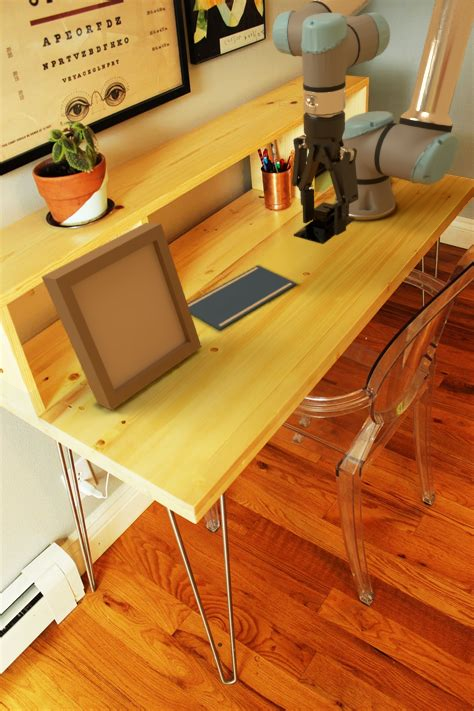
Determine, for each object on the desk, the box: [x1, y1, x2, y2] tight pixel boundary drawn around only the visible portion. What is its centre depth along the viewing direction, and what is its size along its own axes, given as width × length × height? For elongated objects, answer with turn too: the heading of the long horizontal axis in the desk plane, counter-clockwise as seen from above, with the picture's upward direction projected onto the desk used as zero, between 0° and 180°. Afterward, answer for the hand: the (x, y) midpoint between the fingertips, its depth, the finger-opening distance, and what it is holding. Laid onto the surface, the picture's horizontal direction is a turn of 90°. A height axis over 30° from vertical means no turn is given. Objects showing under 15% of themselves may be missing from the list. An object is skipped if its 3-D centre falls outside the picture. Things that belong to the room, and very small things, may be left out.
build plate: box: [293, 201, 356, 245], centre depth 126 cm, size 12×7×5 cm, turn 142°
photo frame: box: [41, 222, 202, 411], centre depth 110 cm, size 15×22×25 cm
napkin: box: [187, 265, 297, 331], centre depth 133 cm, size 22×12×1 cm, turn 132°
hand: (324, 226), depth 127 cm, fingers closed on build plate, 8 cm apart
